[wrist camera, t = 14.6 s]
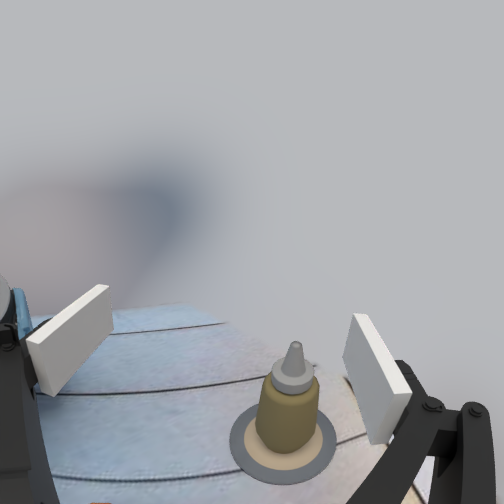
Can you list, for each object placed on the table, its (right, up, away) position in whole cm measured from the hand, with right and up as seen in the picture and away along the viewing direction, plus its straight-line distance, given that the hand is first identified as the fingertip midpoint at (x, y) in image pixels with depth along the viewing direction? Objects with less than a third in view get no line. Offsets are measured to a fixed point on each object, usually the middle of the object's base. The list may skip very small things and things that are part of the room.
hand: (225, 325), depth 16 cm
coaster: (+6, -23, +23) cm, 33 cm away
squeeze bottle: (+6, -22, +22) cm, 32 cm away
